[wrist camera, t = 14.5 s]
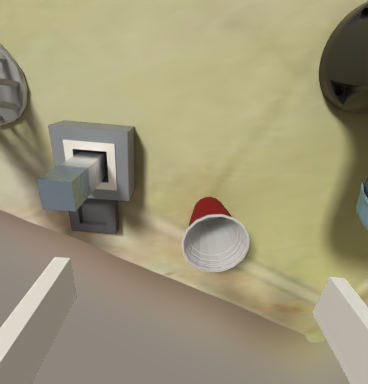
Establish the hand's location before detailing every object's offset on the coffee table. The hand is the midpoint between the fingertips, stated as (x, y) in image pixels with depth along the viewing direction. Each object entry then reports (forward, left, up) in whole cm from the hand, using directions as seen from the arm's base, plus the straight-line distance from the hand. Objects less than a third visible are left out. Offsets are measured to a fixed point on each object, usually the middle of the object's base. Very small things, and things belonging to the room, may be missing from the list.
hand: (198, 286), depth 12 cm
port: (+4, -16, -32) cm, 36 cm away
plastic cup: (+13, +5, -32) cm, 35 cm away
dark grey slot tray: (+15, -18, -32) cm, 39 cm away
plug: (+4, -16, -31) cm, 35 cm away
